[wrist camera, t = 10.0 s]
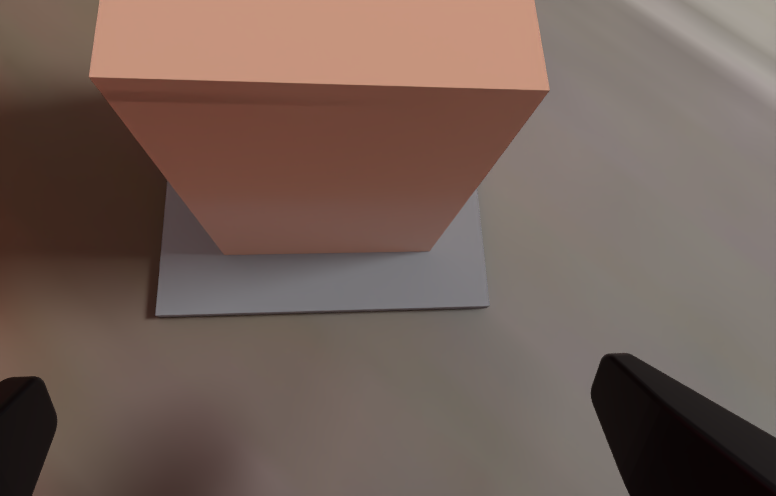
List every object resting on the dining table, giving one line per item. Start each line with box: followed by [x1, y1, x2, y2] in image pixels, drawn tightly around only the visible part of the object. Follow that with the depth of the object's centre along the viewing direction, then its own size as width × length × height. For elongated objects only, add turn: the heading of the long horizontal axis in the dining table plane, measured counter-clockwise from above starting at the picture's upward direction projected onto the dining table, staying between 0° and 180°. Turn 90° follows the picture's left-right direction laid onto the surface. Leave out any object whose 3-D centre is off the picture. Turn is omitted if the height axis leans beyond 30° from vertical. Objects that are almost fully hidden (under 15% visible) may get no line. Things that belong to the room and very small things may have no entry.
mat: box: [155, 180, 490, 317], centre depth 18 cm, size 11×11×1 cm
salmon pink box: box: [89, 0, 550, 255], centre depth 13 cm, size 7×7×10 cm
